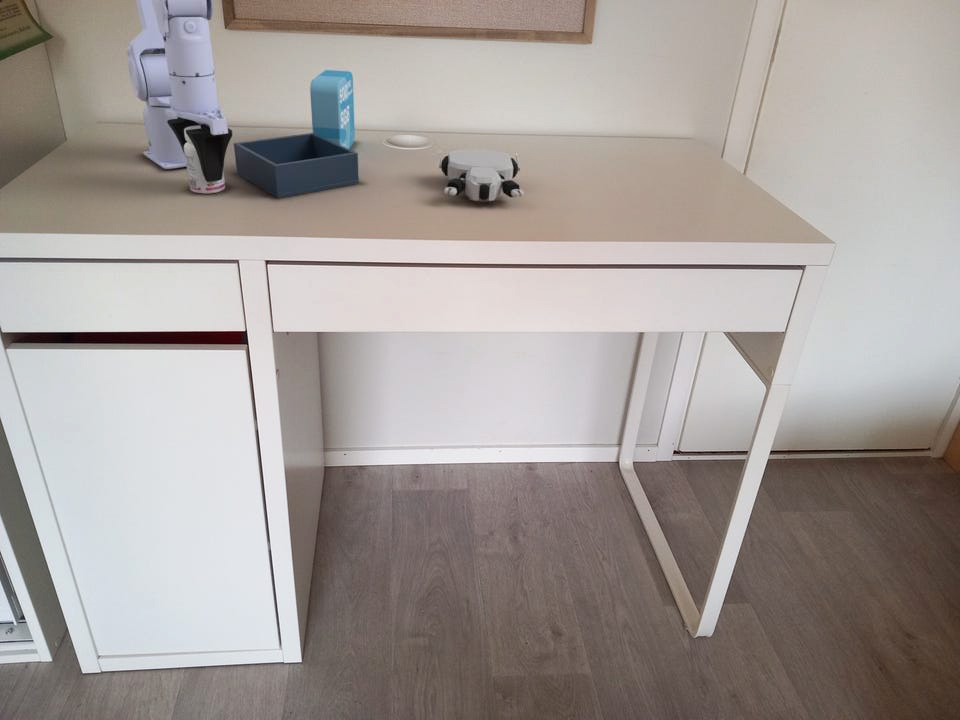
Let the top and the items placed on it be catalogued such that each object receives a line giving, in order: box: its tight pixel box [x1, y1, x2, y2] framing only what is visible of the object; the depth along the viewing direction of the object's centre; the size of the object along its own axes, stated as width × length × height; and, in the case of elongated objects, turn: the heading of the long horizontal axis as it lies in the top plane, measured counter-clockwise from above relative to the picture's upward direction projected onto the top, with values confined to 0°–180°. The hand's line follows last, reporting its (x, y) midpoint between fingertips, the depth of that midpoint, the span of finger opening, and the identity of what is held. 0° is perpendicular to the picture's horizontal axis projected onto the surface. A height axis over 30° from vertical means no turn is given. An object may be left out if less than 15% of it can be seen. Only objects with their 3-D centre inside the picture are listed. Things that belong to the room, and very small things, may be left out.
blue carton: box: [309, 69, 356, 149], centre depth 122 cm, size 12×4×12 cm, turn 178°
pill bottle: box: [184, 126, 226, 195], centre depth 102 cm, size 5×5×8 cm
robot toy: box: [438, 148, 525, 203], centre depth 109 cm, size 12×4×15 cm
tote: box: [233, 132, 360, 199], centre depth 109 cm, size 13×13×5 cm
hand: (206, 175), depth 103 cm, fingers closed on pill bottle, 5 cm apart
